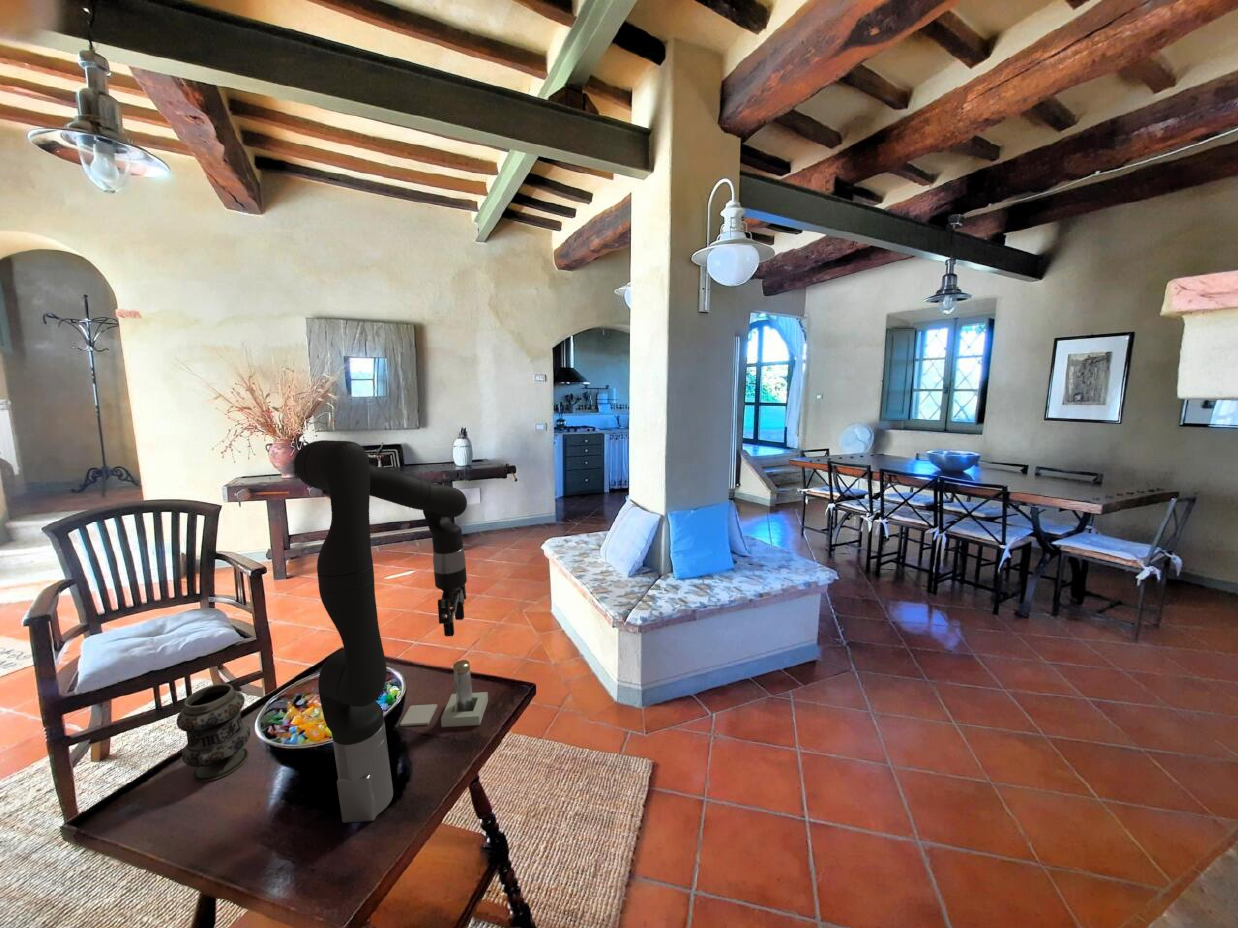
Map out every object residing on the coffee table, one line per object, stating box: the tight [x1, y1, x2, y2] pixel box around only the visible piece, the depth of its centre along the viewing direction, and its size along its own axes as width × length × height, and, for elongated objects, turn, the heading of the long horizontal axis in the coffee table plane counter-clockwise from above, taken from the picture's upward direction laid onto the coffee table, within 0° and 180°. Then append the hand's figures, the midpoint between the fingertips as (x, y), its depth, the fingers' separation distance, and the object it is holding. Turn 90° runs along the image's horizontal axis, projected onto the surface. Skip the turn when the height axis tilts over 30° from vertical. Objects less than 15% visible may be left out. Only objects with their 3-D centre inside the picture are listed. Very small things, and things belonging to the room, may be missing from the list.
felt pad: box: [399, 703, 438, 727], centre depth 125 cm, size 7×7×1 cm
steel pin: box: [452, 659, 474, 712], centre depth 125 cm, size 4×4×14 cm
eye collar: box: [440, 691, 489, 728], centre depth 126 cm, size 10×10×2 cm
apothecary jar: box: [176, 683, 251, 783], centre depth 109 cm, size 12×12×18 cm
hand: (454, 627), depth 122 cm, fingers open, 8 cm apart
